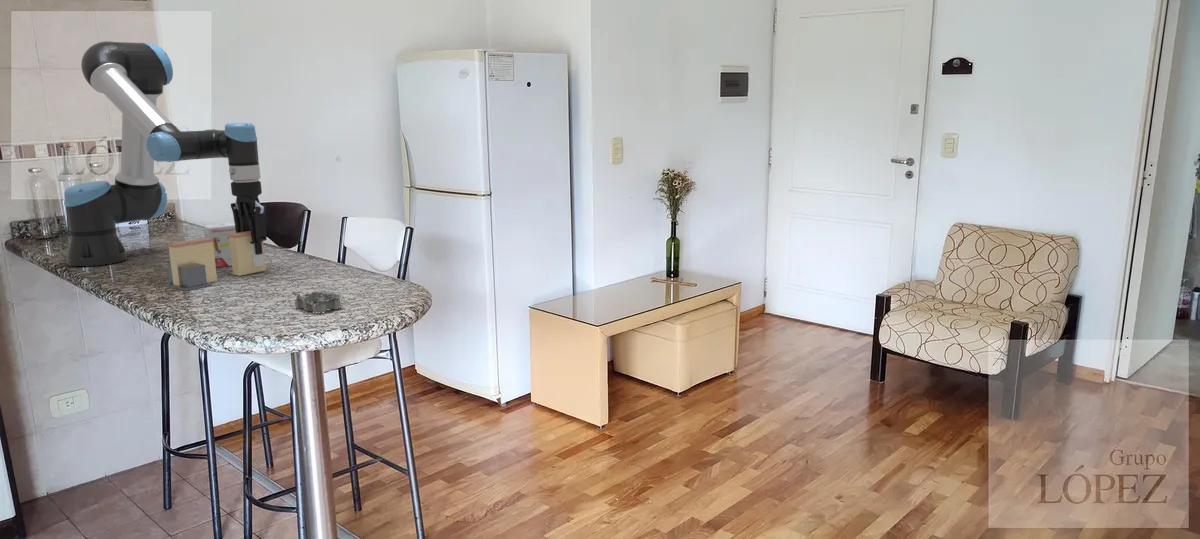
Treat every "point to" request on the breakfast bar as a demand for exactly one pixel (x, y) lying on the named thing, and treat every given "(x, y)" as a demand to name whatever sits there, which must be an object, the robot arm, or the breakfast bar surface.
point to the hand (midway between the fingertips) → (254, 264)
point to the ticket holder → (191, 264)
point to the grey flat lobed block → (318, 301)
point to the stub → (243, 254)
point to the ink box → (221, 242)
